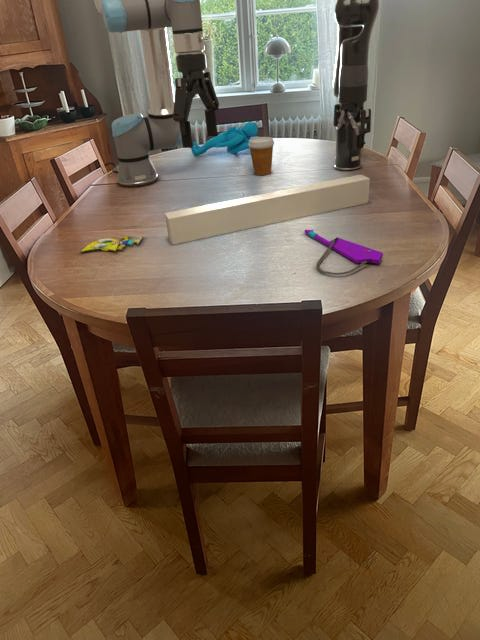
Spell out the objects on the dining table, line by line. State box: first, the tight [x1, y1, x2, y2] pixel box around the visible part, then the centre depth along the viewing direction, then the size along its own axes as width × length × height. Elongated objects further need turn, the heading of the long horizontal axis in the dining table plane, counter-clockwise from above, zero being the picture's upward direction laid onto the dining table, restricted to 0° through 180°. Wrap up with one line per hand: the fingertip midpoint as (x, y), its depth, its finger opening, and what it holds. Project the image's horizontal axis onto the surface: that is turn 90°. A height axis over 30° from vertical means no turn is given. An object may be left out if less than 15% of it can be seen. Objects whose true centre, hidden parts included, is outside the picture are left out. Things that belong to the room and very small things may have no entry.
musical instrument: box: [304, 229, 384, 276], centre depth 117 cm, size 24×2×20 cm
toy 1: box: [80, 235, 144, 254], centre depth 133 cm, size 10×1×15 cm
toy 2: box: [190, 121, 259, 157], centre depth 206 cm, size 17×11×30 cm
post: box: [164, 174, 371, 246], centre depth 138 cm, size 61×5×8 cm, turn 110°
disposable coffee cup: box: [248, 136, 275, 176], centre depth 177 cm, size 10×10×12 cm
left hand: (201, 141), depth 131 cm, fingers open, 13 cm apart
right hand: (350, 145), depth 137 cm, fingers open, 8 cm apart
